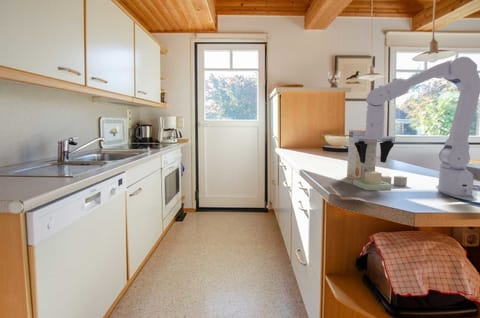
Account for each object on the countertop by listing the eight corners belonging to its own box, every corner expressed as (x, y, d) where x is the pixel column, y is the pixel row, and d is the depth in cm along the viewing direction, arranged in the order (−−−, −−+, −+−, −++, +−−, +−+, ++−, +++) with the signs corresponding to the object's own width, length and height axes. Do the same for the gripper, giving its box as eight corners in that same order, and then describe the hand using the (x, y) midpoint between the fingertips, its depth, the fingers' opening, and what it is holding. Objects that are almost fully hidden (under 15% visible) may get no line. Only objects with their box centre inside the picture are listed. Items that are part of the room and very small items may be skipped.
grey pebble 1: (390, 185, 115) (391, 177, 114) (382, 185, 115) (382, 177, 115) (387, 183, 118) (388, 176, 117) (379, 183, 118) (380, 175, 117)
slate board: (412, 190, 110) (412, 188, 110) (391, 190, 110) (392, 188, 109) (398, 185, 118) (398, 183, 118) (379, 186, 117) (379, 184, 117)
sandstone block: (380, 188, 110) (381, 173, 110) (369, 188, 110) (370, 173, 109) (374, 186, 114) (375, 171, 114) (364, 186, 114) (365, 171, 113)
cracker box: (375, 185, 118) (378, 130, 116) (359, 185, 118) (362, 130, 116) (360, 178, 132) (363, 128, 130) (346, 178, 132) (348, 128, 129)
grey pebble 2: (406, 185, 115) (406, 177, 115) (400, 185, 114) (401, 177, 114) (399, 183, 118) (399, 175, 118) (393, 184, 117) (394, 176, 116)
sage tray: (390, 191, 108) (391, 184, 108) (366, 192, 108) (366, 185, 107) (375, 185, 118) (375, 179, 118) (352, 186, 117) (353, 179, 117)
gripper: (387, 123, 115) (385, 160, 116) (349, 123, 113) (348, 161, 115) (399, 124, 108) (397, 163, 109) (359, 124, 106) (357, 163, 108)
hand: (372, 162), depth 112 cm, fingers open, 7 cm apart
